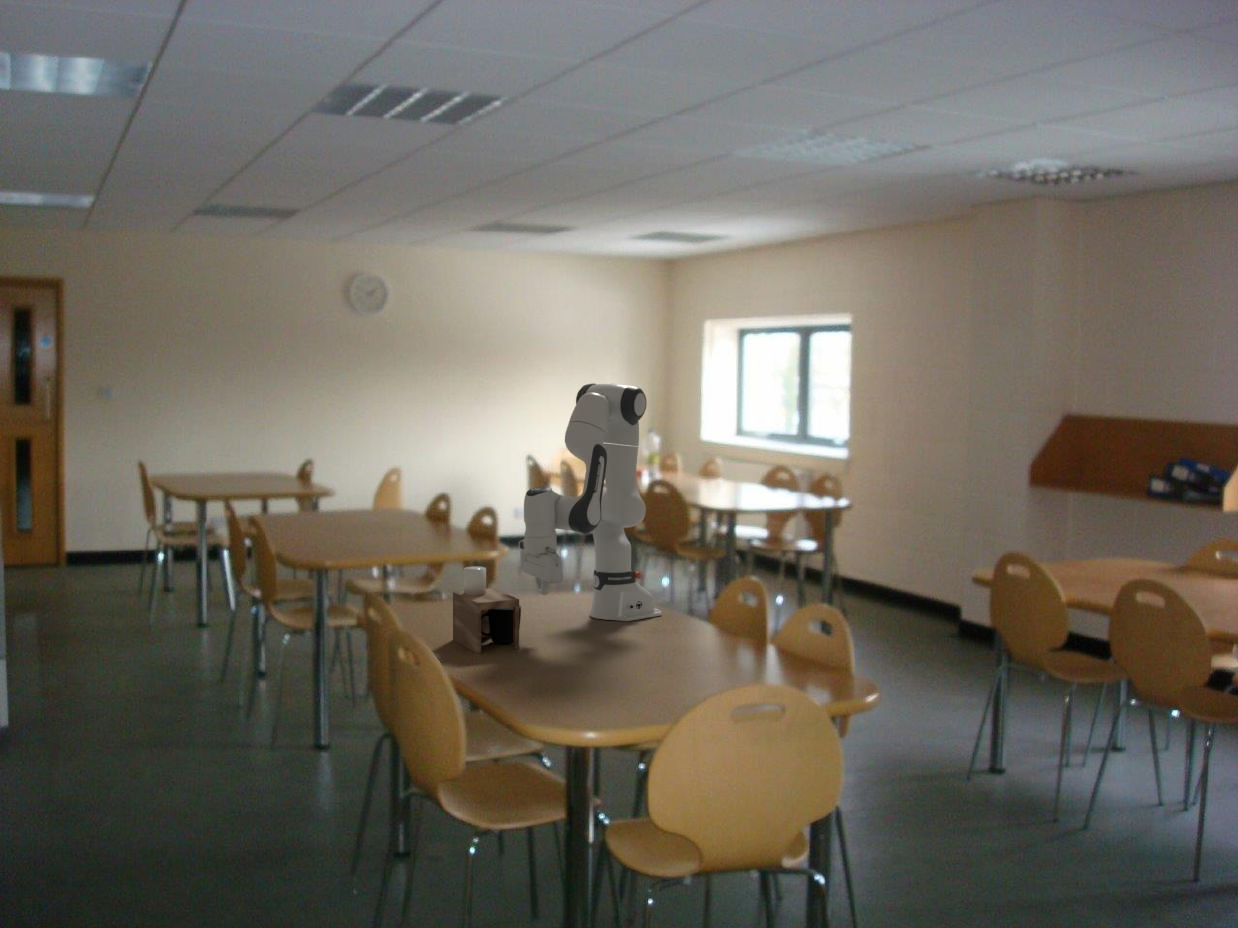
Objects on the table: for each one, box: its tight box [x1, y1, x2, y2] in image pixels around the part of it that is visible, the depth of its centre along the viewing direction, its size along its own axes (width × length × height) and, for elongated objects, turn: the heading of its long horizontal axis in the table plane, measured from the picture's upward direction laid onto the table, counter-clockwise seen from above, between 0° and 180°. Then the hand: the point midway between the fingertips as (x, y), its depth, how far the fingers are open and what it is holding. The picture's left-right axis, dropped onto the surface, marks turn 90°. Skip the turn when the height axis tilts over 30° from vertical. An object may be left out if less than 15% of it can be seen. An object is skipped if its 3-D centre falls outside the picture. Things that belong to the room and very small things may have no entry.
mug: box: [481, 604, 522, 646], centre depth 320 cm, size 12×9×10 cm
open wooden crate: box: [452, 588, 520, 654], centre depth 318 cm, size 12×18×14 cm, turn 29°
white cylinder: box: [463, 566, 487, 595], centre depth 320 cm, size 6×6×7 cm
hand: (542, 593), depth 326 cm, fingers closed
